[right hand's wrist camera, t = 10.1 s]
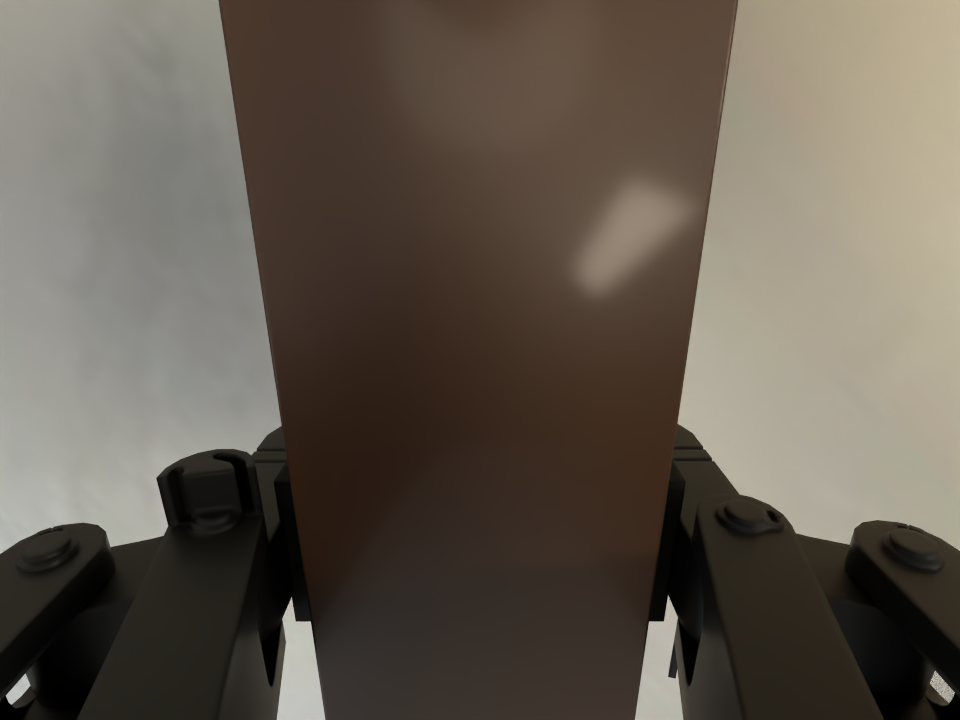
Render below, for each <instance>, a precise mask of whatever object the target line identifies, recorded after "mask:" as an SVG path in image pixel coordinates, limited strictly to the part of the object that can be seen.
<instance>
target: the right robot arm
mask: <svg viewBox="0 0 960 720" xmlns="http://www.w3.org/2000/svg"><path fill="white" fill-rule="evenodd" d="M157 482H158V486H159V490H160V494H161V498H162V502H163V506H164V510H165V514H166V518H167V522H168V528H167V530H166V532H165V534H164V536H161V537H157V538H154V539H149V540H144V541H139V542H135V543H130V544H125V545H120V546H115V547H110V544H109V541H108V538H107V534H106V531H104V530H103V529H102V528H101V527H99V526H98V525H94V524H88V523H77V524H67V525H60V526H55V527H53V528H48V529H45V530H42V531H40V532H38V533H36V534H34V535H32V536H30V537H28V538H26V539H23V540H21V541H19V542H18V543H16V544H15V545H13V546H12V547H10V548H9V549H7V550H6V551H4V552H3V553H1V554H0V720H277V712H278V703H279V695H280V687H281V678H282V670H283V661H284V653H285V645H286V640H285V633H284V627H283V621H282V618H283V616H284V613H285V611H286V609H287V606H288V604H289V602H290V599H291V597H292V600H293V607H294V613H295V619H296V621H311V618H310V611H309V605H308V598H307V591H306V585H305V578H304V571H303V564H302V558H301V551H300V544H299V538H298V531H297V524H296V517H295V511H294V504H293V497H292V490H291V484H290V477H289V470H288V464H287V457H286V450H285V443H284V437H283V430H282V426H281V427H279V428H278V429H276V430H275V431H273V432H271V433H270V434H268V435H267V436H266V438H265V439H264V440H263V441H262V443H261V444H260V445H259V447H258V448H257V452H254V453H253V455H252V456H251V455H250V454H249V453H247V452H244V451H240V450H235V449H216V450H211V451H206V452H201V453H197V454H194V455H191V456H188V457H186V458H183V459H180V460H179V461H177V462H175V463H174V464H172V465H170V466H168V467H167V468H165V469H164V470H163V472H162V473H161V474H160V475H159V476H158V477H157ZM668 595H669V597H670V600H671V602H672V604H673V607H674V609H675V611H676V614H677V616H678V621H677V627H676V633H675V639H674V645H673V650H672V656H671V662H670V668H669V675H668V677H671V678H676V673H677V669H678V677H679V685H680V694H681V702H682V711H683V719H684V720H960V551H959V550H957V549H956V548H954V547H953V546H951V545H950V544H948V543H946V542H945V541H943V540H942V539H940V538H938V537H936V536H934V535H932V534H929V533H927V532H925V531H924V530H922V529H920V528H917V527H914V526H911V525H909V526H908V525H907V524H903V523H898V522H888V521H879V520H876V521H869V522H863V523H861V524H860V525H859V526H858V527H856V528H855V529H854V533H853V536H852V539H851V543H850V545H847V544H842V543H837V542H832V541H827V540H822V539H817V538H812V537H808V536H804V535H800V534H796V533H795V531H794V529H793V527H792V525H791V524H790V523H789V521H788V520H787V519H786V517H785V516H784V515H783V514H782V513H780V512H779V511H777V510H776V509H775V508H773V507H772V506H770V505H769V504H766V503H764V502H761V501H759V500H757V499H754V498H752V497H747V496H743V495H739V493H738V492H737V491H736V489H735V488H734V487H733V485H732V484H731V483H730V481H729V480H728V479H727V478H726V476H725V475H724V474H723V472H722V471H721V470H720V468H719V467H718V466H717V465H716V463H715V462H714V461H712V458H711V457H710V455H709V454H708V453H707V452H706V450H703V446H702V445H701V444H700V442H699V441H698V440H697V438H696V437H695V436H694V435H693V433H691V432H690V431H688V430H686V429H685V428H683V427H682V426H680V425H679V424H677V429H676V436H675V443H674V450H673V457H672V464H671V471H670V478H669V485H668V492H667V499H666V506H665V513H664V520H663V527H662V533H661V540H660V547H659V554H658V561H657V568H656V575H655V582H654V589H653V596H652V603H651V610H650V617H649V621H664V617H665V610H666V604H667V598H668ZM935 671H936V672H937V673H938V674H939V675H940V676H941V677H942V678H943V680H944V681H945V682H946V683H947V684H948V685H949V686H950V687H951V689H952V690H953V691H954V692H955V694H954V697H953V699H952V701H951V702H950V703H949V702H947V701H946V700H945V699H944V698H943V697H941V696H940V695H939V694H938V693H937V691H936V690H935V689H934V688H933V687H932V686H931V684H930V681H931V679H932V676H933V674H934V672H935ZM25 673H26V675H27V678H28V680H29V683H30V685H31V686H30V687H29V688H28V689H27V691H26V692H25V693H24V694H23V695H22V696H21V697H20V698H19V699H18V700H17V701H16V702H14V703H13V704H12V705H11V704H10V703H9V702H8V700H7V698H6V695H7V693H8V692H9V691H10V690H11V689H12V688H13V687H14V685H15V684H16V683H17V682H18V681H19V680H20V679H21V678H22V676H23V675H24V674H25Z"/></svg>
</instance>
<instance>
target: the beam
mask: <svg viewBox="0 0 960 720" xmlns="http://www.w3.org/2000/svg"><path fill="white" fill-rule="evenodd" d="M737 5H738V0H219V6H220V13H221V20H222V27H223V33H224V40H225V47H226V53H227V60H228V67H229V74H230V80H231V87H232V94H233V101H234V107H235V114H236V121H237V127H238V134H239V141H240V148H241V154H242V161H243V168H244V174H245V181H246V188H247V195H248V201H249V208H250V215H251V222H252V228H253V235H254V242H255V248H256V255H257V262H258V269H259V275H260V282H261V289H262V296H263V302H264V309H265V316H266V322H267V329H268V336H269V343H270V349H271V356H272V363H273V369H274V376H275V383H276V390H277V396H278V403H279V410H280V417H281V423H282V430H283V437H284V443H285V450H286V457H287V464H288V470H289V477H290V484H291V490H292V497H293V504H294V511H295V517H296V524H297V531H298V538H299V544H300V551H301V558H302V564H303V571H304V578H305V585H306V591H307V598H308V605H309V611H310V618H311V625H312V632H313V638H314V645H315V652H316V659H317V665H318V672H319V679H320V685H321V692H322V699H323V706H324V712H325V719H326V720H635V714H636V707H637V700H638V693H639V686H640V679H641V673H642V666H643V659H644V652H645V645H646V638H647V631H648V624H649V617H650V610H651V603H652V596H653V589H654V582H655V575H656V568H657V561H658V554H659V547H660V540H661V533H662V527H663V520H664V513H665V506H666V499H667V492H668V485H669V478H670V471H671V464H672V457H673V450H674V443H675V436H676V429H677V422H678V415H679V408H680V401H681V394H682V388H683V381H684V374H685V367H686V360H687V353H688V346H689V339H690V332H691V325H692V318H693V311H694V304H695V297H696V290H697V283H698V276H699V269H700V262H701V255H702V248H703V242H704V235H705V228H706V221H707V214H708V207H709V200H710V193H711V186H712V179H713V172H714V165H715V158H716V151H717V144H718V137H719V130H720V123H721V116H722V109H723V102H724V96H725V89H726V82H727V75H728V68H729V61H730V54H731V47H732V40H733V33H734V26H735V19H736V12H737Z"/></svg>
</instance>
